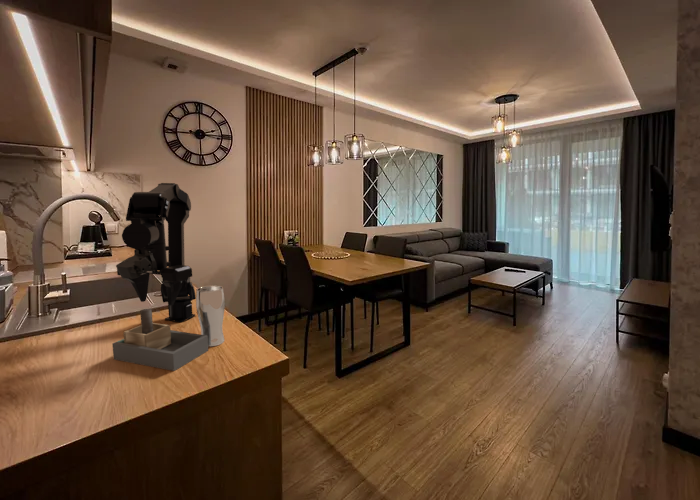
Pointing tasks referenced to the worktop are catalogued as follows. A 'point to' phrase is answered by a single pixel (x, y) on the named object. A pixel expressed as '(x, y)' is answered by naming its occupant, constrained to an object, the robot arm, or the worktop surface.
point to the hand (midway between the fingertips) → (157, 303)
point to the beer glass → (211, 313)
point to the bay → (164, 351)
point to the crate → (148, 333)
